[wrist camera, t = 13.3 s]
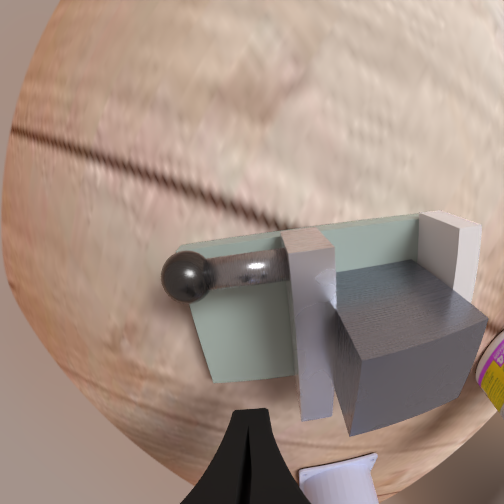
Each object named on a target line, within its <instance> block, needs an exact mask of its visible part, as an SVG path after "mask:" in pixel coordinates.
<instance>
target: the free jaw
mask: <svg viewBox="0 0 504 504" xmlns="http://www.w3.org/2000/svg"><path fill="white" fill-rule="evenodd" d="M280 236H281V244H282V248H277V249H270V250H263V251H256V252H249V253H241V254H234V255H227V256H220V257H213V258H205V257H204V256H203V255H201V254H200V253H197V252H194V251H188V250H186V251H180V252H177V253H175V254H173V255H172V256H171V257H169V258H168V259H167V261H166V262H165V264H164V266H163V268H162V272H161V282H162V285H163V288H164V290H165V292H166V293H167V294H168V296H170V297H171V298H172V299H173V300H175V301H177V302H179V303H183V304H192V303H196V302H199V301H201V300H202V299H204V298H205V297H206V296H207V295H208V294H209V292H210V291H212V290H221V289H229V288H237V287H245V286H253V285H260V284H268V283H275V282H282V281H286V288H287V297H288V307H289V317H290V327H291V338H292V349H293V360H294V373H295V384H296V390H297V396H298V402H299V408H300V414H301V421H302V422H303V421H309V420H315V419H320V418H326V417H331V416H332V411H333V399H334V384H335V365H336V328H337V301H336V263H335V247H334V246H333V245H332V244H331V243H330V241H329V240H328V239H327V238H326V237H325V236H324V235H323V234H322V233H321V232H320V231H319V230H318V229H317V228H316V227H309V228H302V229H294V230H287V231H280Z"/></svg>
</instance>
